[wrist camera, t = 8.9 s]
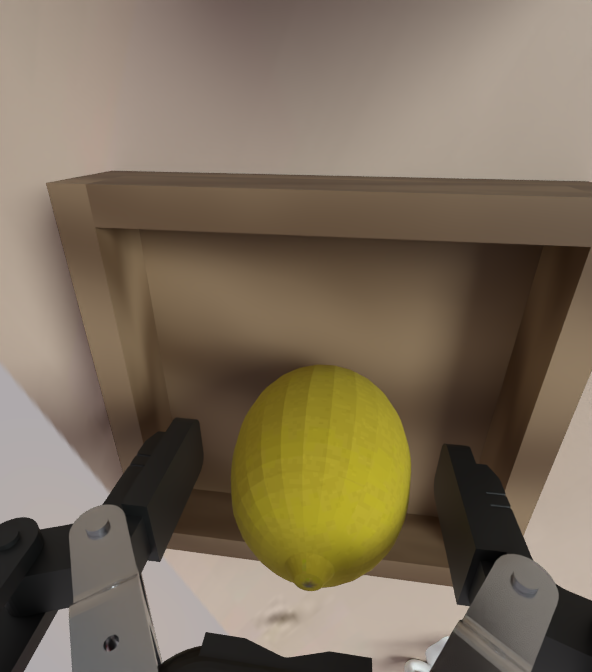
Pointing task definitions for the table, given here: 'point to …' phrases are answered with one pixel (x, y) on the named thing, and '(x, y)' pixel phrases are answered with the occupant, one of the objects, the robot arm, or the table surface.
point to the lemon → (321, 476)
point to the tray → (337, 319)
